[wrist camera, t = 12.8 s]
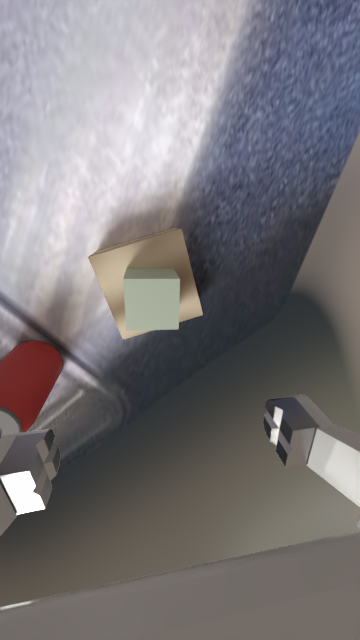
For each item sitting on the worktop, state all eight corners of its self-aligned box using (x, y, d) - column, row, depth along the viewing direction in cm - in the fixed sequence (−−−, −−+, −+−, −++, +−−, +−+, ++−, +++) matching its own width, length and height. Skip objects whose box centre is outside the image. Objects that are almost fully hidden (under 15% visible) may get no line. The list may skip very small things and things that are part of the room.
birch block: (96, 251, 29) (88, 257, 24) (175, 227, 29) (181, 229, 25) (125, 322, 33) (123, 339, 29) (194, 301, 33) (203, 314, 29)
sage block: (126, 268, 25) (123, 278, 21) (173, 268, 26) (180, 278, 22) (129, 312, 27) (126, 330, 23) (172, 311, 28) (178, 329, 23)
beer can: (20, 382, 34) (-38, 460, 23) (5, 341, 31) (-69, 407, 20) (69, 376, 35) (35, 449, 24) (58, 336, 32) (14, 396, 21)
